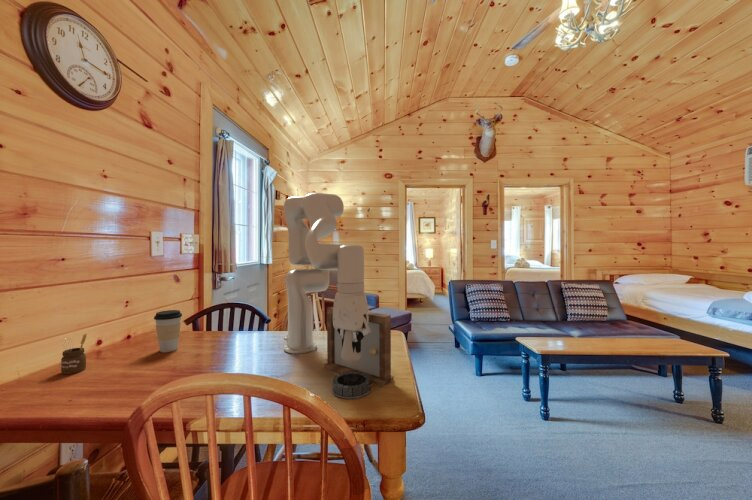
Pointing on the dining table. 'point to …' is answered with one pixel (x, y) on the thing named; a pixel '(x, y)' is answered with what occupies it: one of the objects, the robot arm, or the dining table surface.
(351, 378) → the socket
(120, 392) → the dining table surface
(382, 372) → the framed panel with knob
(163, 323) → the coffee cup
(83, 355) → the utensil holder
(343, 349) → the salt shaker
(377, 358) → the door
